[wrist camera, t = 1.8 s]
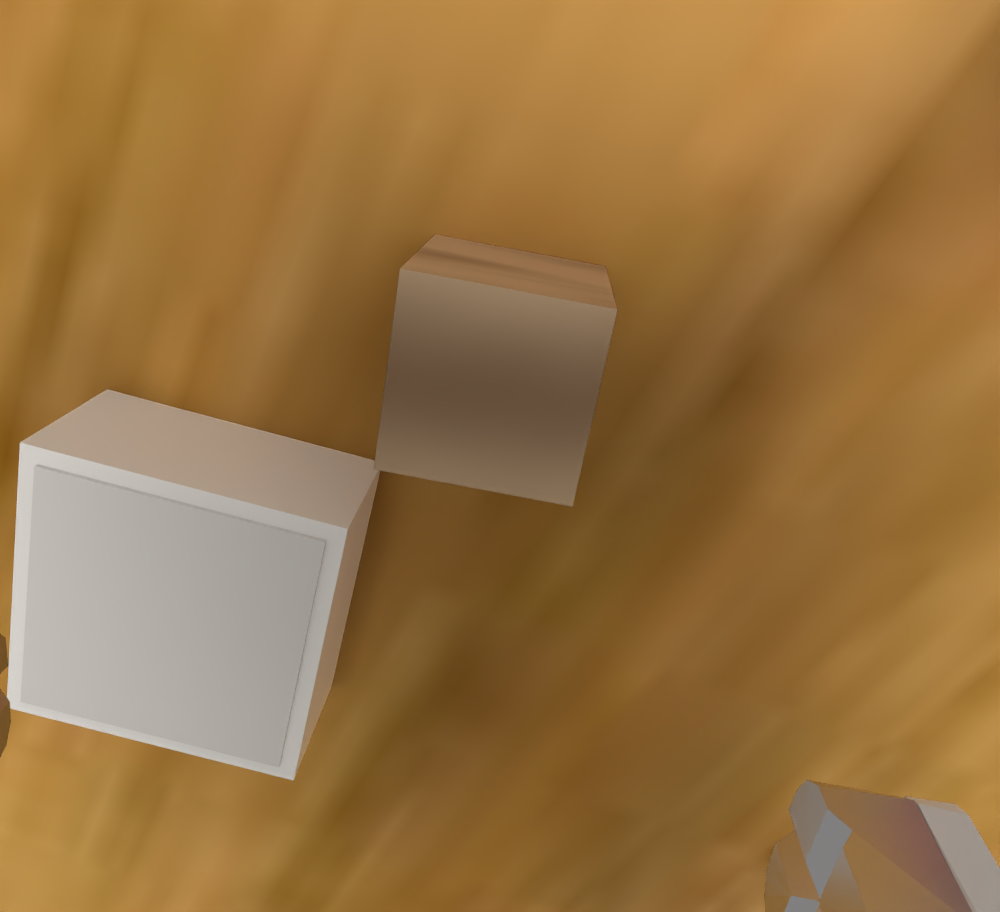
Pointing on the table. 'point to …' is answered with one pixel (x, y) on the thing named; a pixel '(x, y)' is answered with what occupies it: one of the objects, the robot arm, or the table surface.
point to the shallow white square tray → (183, 579)
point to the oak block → (494, 368)
